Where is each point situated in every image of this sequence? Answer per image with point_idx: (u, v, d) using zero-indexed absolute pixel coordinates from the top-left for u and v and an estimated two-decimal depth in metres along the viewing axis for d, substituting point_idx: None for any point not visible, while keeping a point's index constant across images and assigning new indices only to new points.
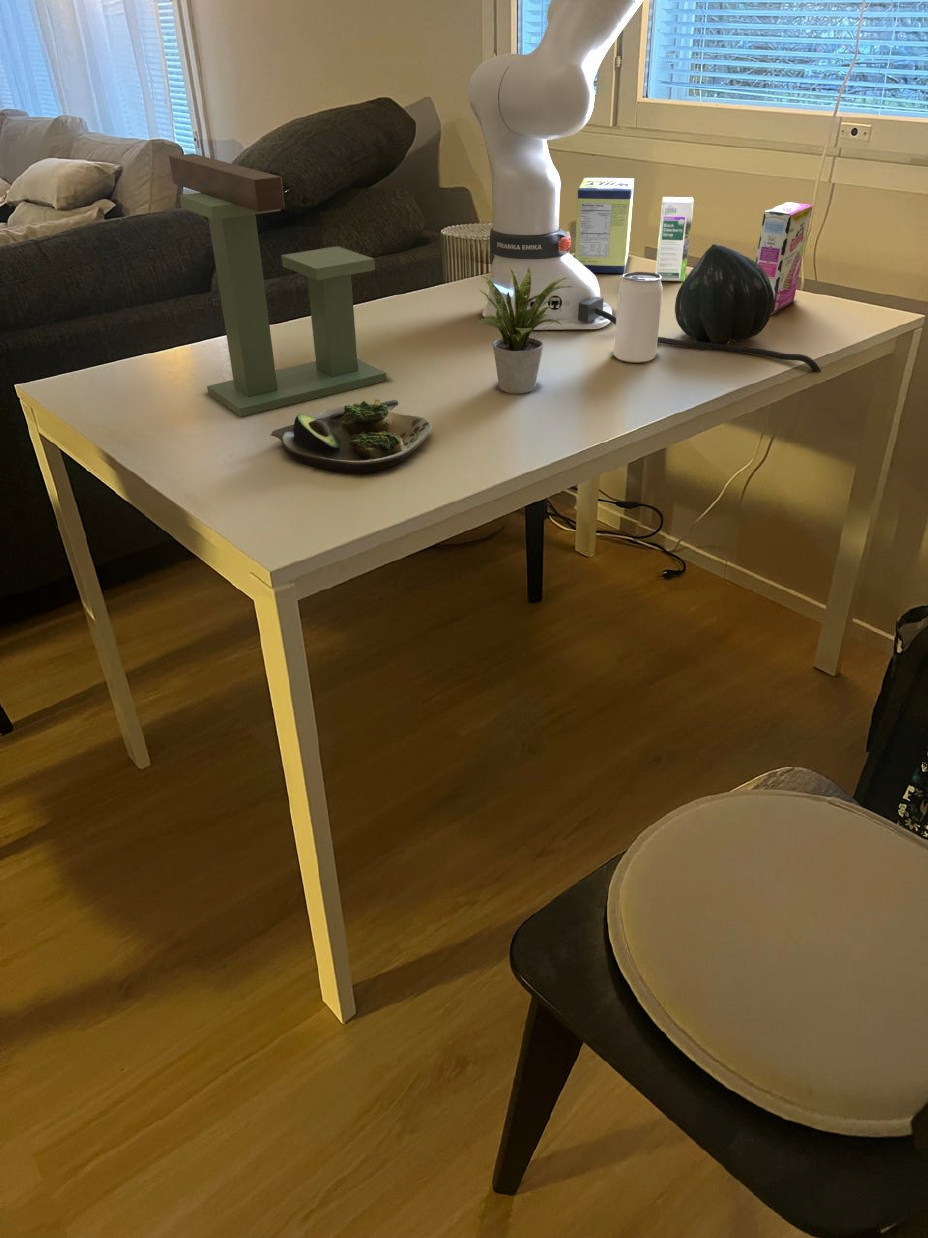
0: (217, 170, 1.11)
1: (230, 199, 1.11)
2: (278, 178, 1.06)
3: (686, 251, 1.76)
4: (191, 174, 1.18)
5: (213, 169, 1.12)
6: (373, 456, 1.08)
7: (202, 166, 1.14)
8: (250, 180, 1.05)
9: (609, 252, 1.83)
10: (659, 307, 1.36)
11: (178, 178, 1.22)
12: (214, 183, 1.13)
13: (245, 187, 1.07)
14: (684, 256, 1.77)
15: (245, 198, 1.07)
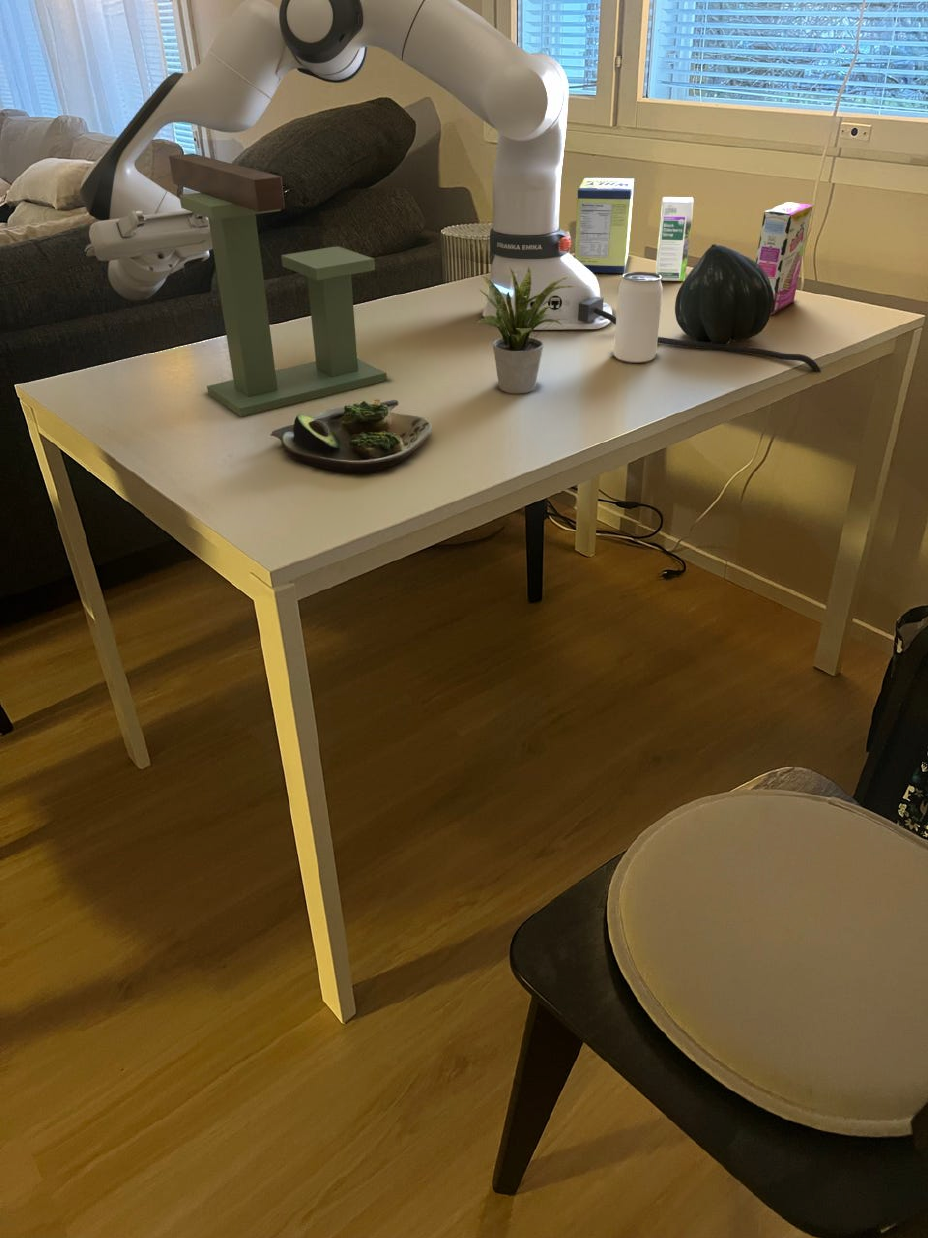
0: (217, 170, 1.11)
1: (230, 199, 1.11)
2: (278, 178, 1.06)
3: (686, 251, 1.76)
4: (191, 174, 1.18)
5: (213, 169, 1.12)
6: (373, 456, 1.08)
7: (202, 166, 1.14)
8: (250, 180, 1.05)
9: (609, 252, 1.83)
10: (659, 307, 1.36)
11: (178, 178, 1.22)
12: (214, 183, 1.13)
13: (245, 187, 1.07)
14: (684, 256, 1.77)
15: (245, 198, 1.07)
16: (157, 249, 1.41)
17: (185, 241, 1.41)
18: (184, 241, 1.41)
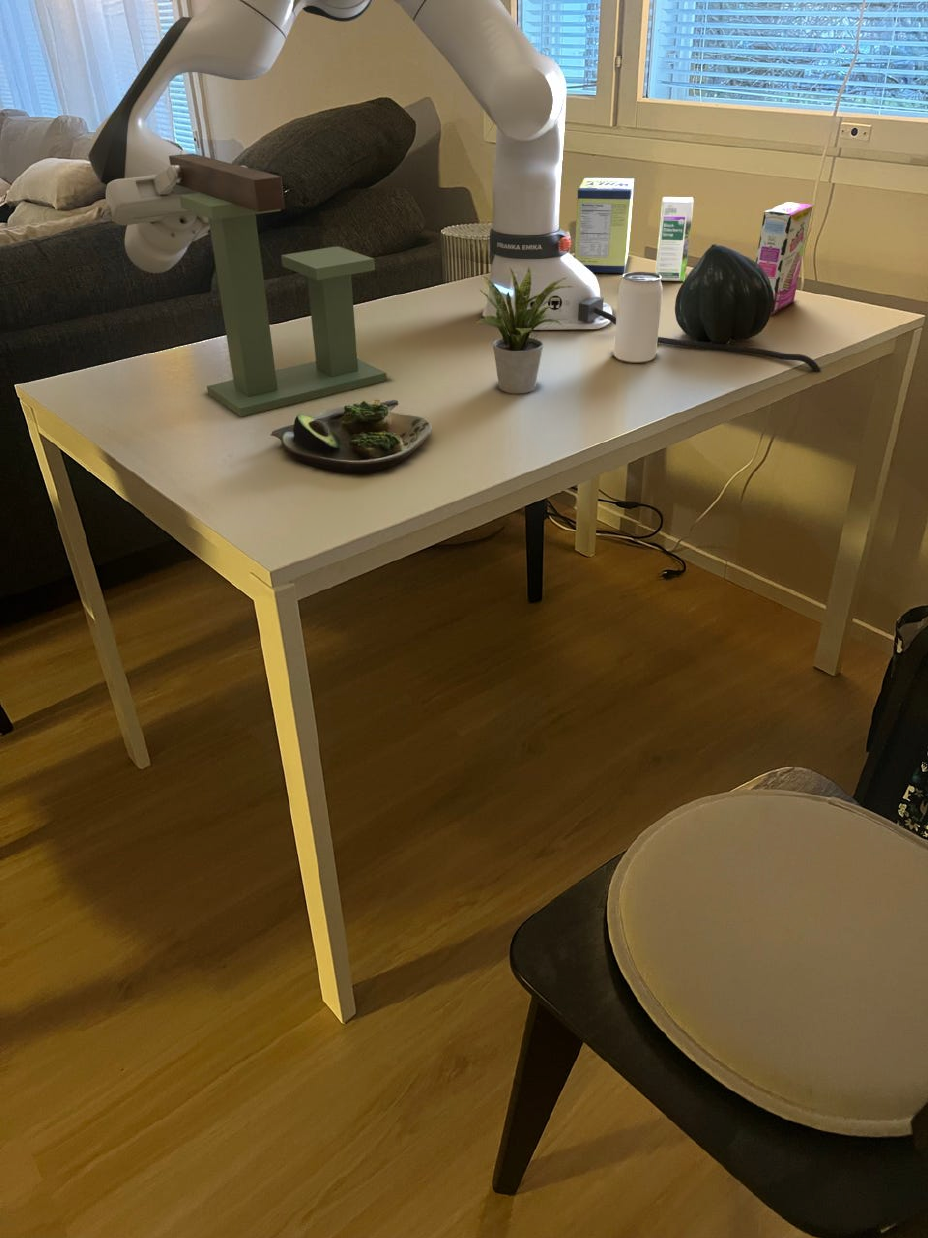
0: (217, 170, 1.11)
1: (230, 199, 1.11)
2: (278, 178, 1.06)
3: (686, 251, 1.76)
4: (191, 174, 1.18)
5: (213, 169, 1.12)
6: (373, 456, 1.08)
7: (202, 166, 1.14)
8: (250, 180, 1.05)
9: (609, 252, 1.83)
10: (659, 307, 1.36)
11: None
12: (213, 183, 1.13)
13: (245, 187, 1.07)
14: (684, 256, 1.77)
15: (245, 198, 1.07)
16: (179, 213, 1.29)
17: None
18: None
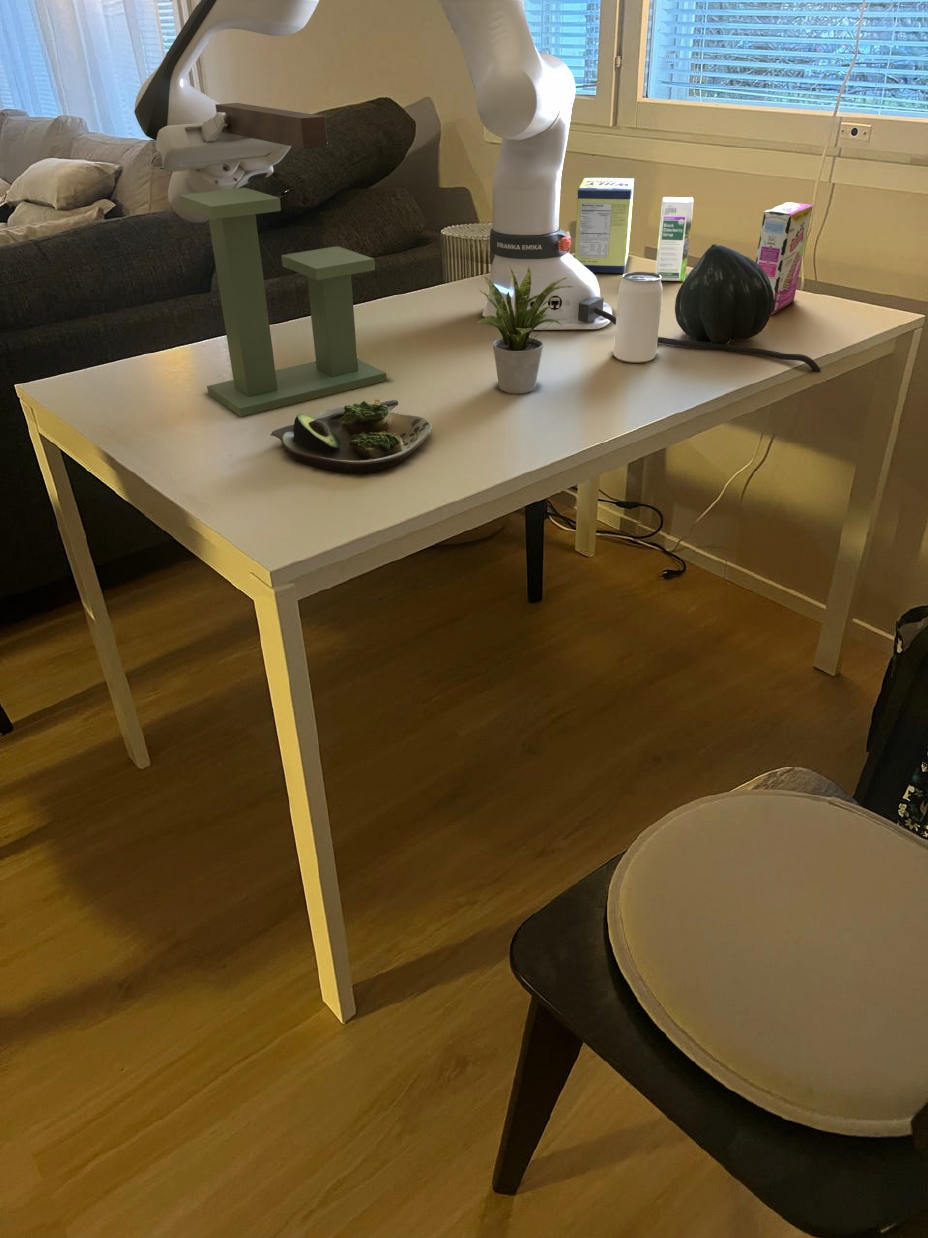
0: (264, 113, 1.20)
1: (276, 139, 1.20)
2: (322, 117, 1.15)
3: (686, 251, 1.76)
4: (237, 119, 1.27)
5: (260, 112, 1.21)
6: (373, 456, 1.08)
7: (249, 111, 1.23)
8: (297, 119, 1.14)
9: (609, 252, 1.83)
10: (659, 307, 1.36)
11: None
12: (260, 126, 1.22)
13: (291, 126, 1.16)
14: (684, 256, 1.77)
15: (291, 137, 1.16)
16: (223, 161, 1.38)
17: (251, 152, 1.38)
18: (250, 152, 1.38)
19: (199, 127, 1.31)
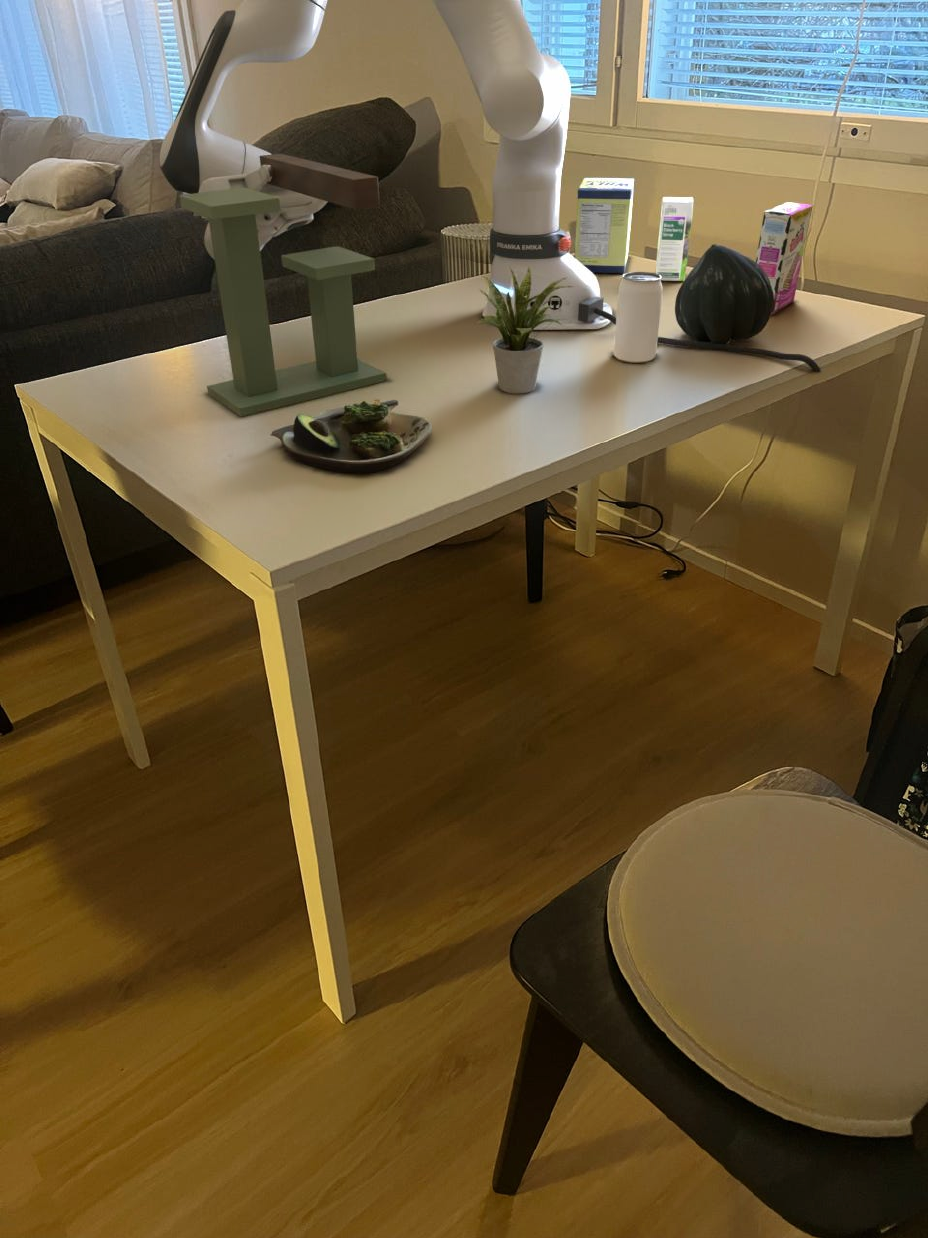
0: (313, 170, 1.18)
1: (326, 197, 1.18)
2: (375, 178, 1.13)
3: (686, 251, 1.76)
4: (283, 173, 1.25)
5: (308, 169, 1.19)
6: (373, 456, 1.08)
7: (296, 166, 1.21)
8: (349, 180, 1.12)
9: (609, 252, 1.83)
10: (659, 307, 1.36)
11: None
12: (308, 182, 1.20)
13: (343, 186, 1.13)
14: (684, 256, 1.77)
15: (342, 196, 1.14)
16: None
17: (293, 202, 1.36)
18: (292, 202, 1.36)
19: (242, 178, 1.29)
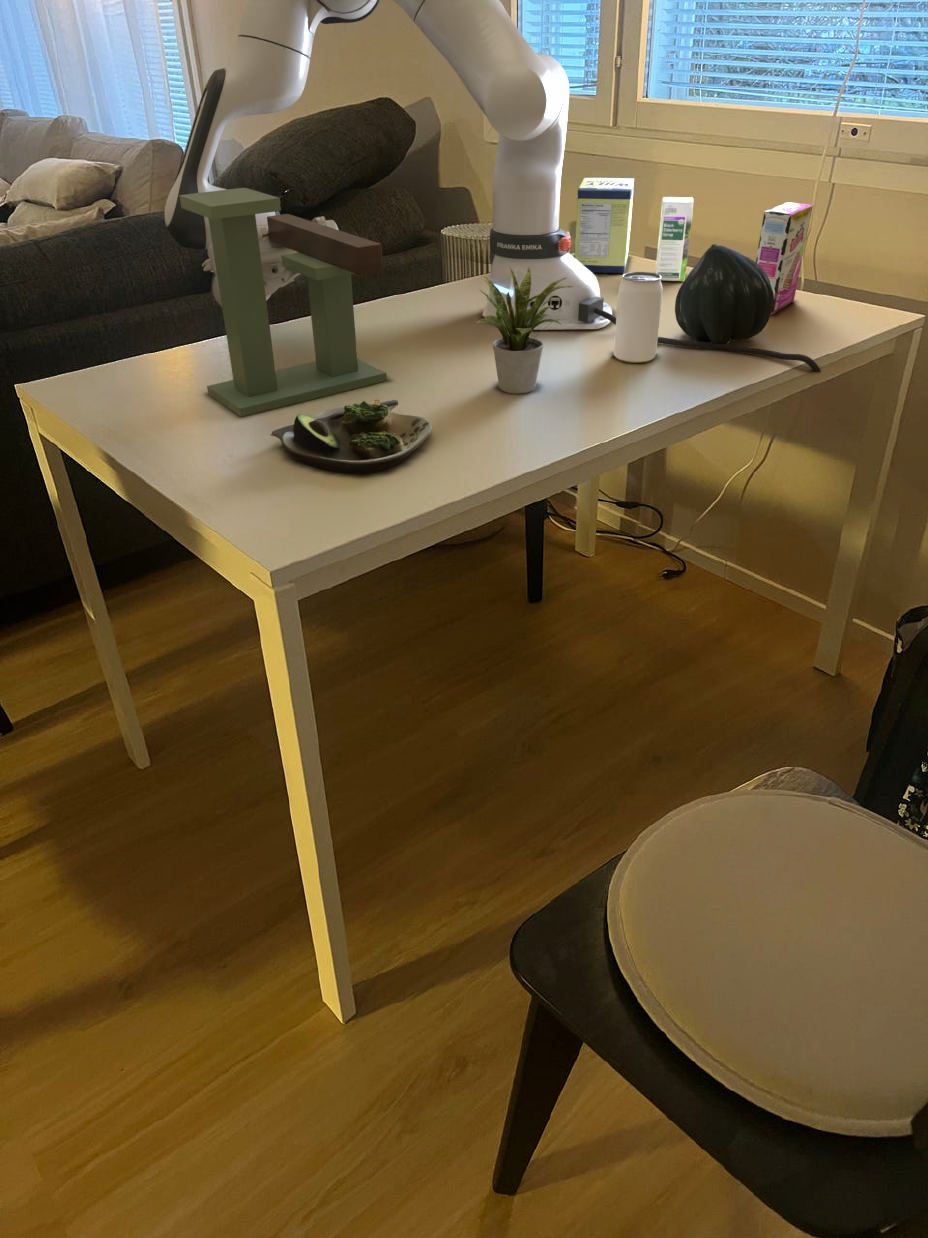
0: (319, 235, 1.22)
1: (331, 261, 1.22)
2: (378, 245, 1.17)
3: (686, 251, 1.76)
4: (290, 235, 1.29)
5: (314, 233, 1.23)
6: (373, 456, 1.08)
7: (303, 230, 1.25)
8: (354, 247, 1.16)
9: (609, 252, 1.83)
10: (659, 307, 1.36)
11: (275, 237, 1.33)
12: (314, 245, 1.24)
13: (348, 252, 1.18)
14: (684, 256, 1.77)
15: (347, 262, 1.19)
16: (271, 263, 1.40)
17: None
18: None
19: None
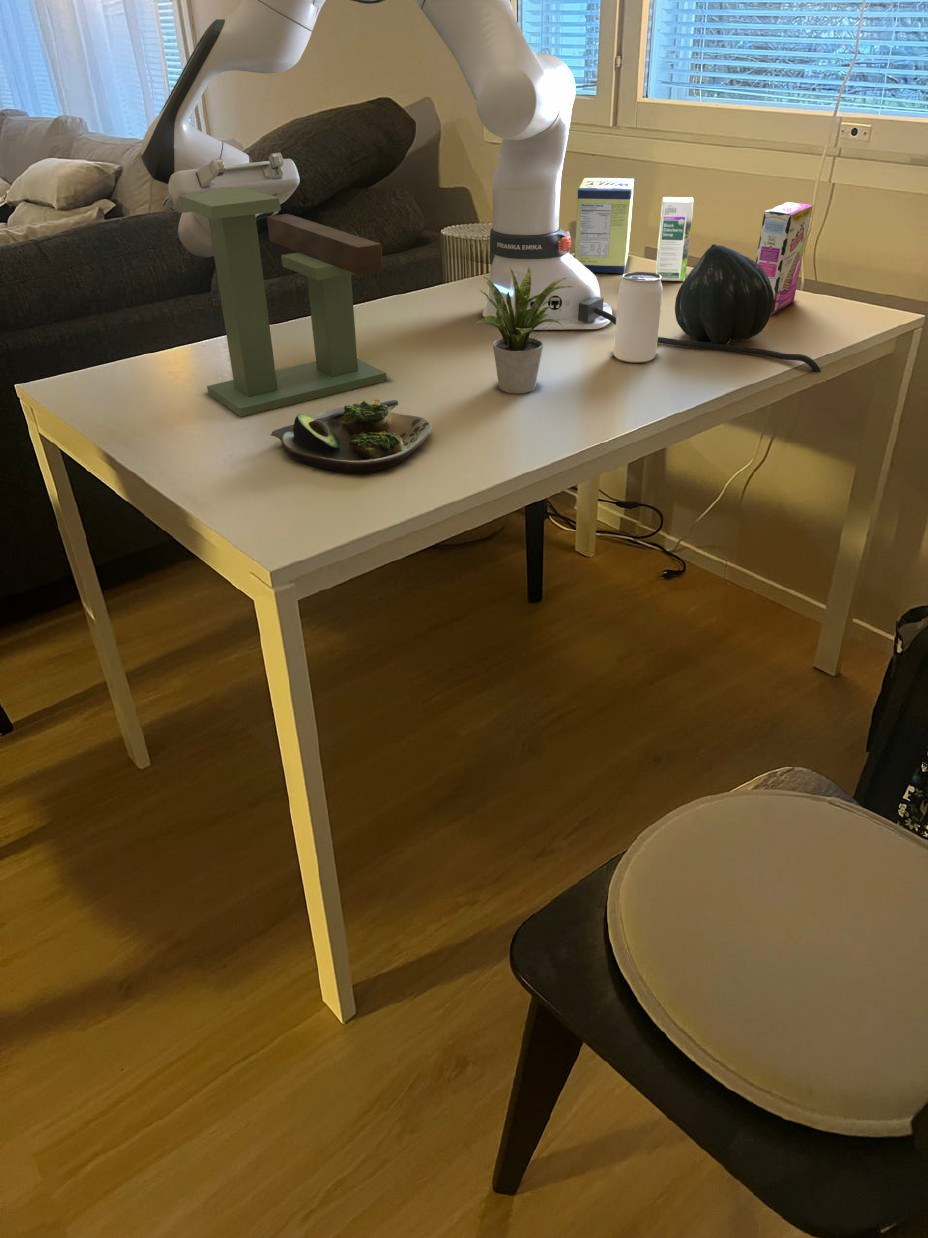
0: (319, 235, 1.22)
1: (331, 261, 1.22)
2: (378, 245, 1.17)
3: (686, 251, 1.76)
4: (290, 235, 1.29)
5: (314, 233, 1.23)
6: (373, 456, 1.08)
7: (303, 230, 1.25)
8: (354, 247, 1.16)
9: (609, 252, 1.83)
10: (659, 307, 1.36)
11: (275, 237, 1.33)
12: (314, 245, 1.24)
13: (348, 252, 1.18)
14: (684, 256, 1.77)
15: (347, 262, 1.19)
16: None
17: None
18: None
19: None
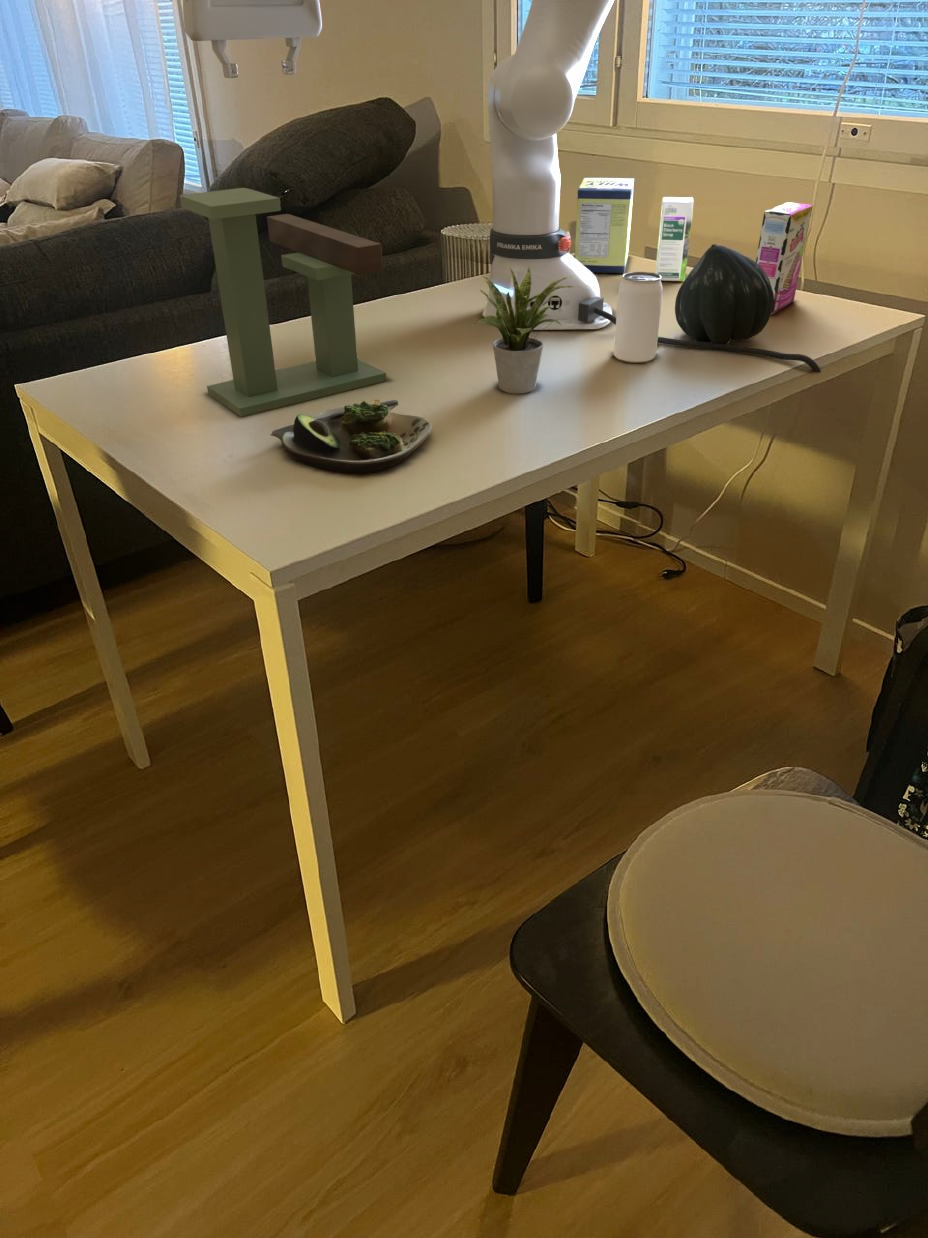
0: (319, 235, 1.22)
1: (331, 261, 1.22)
2: (378, 245, 1.17)
3: (686, 251, 1.76)
4: (290, 235, 1.29)
5: (314, 233, 1.23)
6: (373, 456, 1.08)
7: (303, 230, 1.25)
8: (354, 247, 1.16)
9: (609, 252, 1.83)
10: (659, 307, 1.36)
11: (275, 237, 1.33)
12: (314, 245, 1.24)
13: (348, 252, 1.18)
14: (684, 256, 1.77)
15: (347, 262, 1.19)
16: None
17: None
18: None
19: None
